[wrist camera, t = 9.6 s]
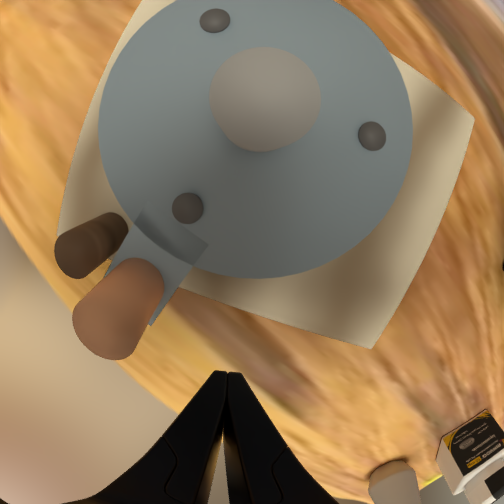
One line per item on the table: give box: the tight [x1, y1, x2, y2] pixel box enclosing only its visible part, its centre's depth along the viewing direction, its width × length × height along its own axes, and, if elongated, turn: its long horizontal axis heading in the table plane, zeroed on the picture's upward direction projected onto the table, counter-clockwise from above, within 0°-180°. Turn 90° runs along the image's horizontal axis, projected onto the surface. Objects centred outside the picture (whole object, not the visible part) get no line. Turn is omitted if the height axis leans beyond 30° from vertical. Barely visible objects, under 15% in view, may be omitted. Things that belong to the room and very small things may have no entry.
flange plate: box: [72, 0, 413, 360], centre depth 9 cm, size 16×13×5 cm
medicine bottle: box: [436, 410, 504, 504], centre depth 18 cm, size 7×7×12 cm
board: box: [54, 0, 475, 349], centre depth 12 cm, size 20×16×5 cm
